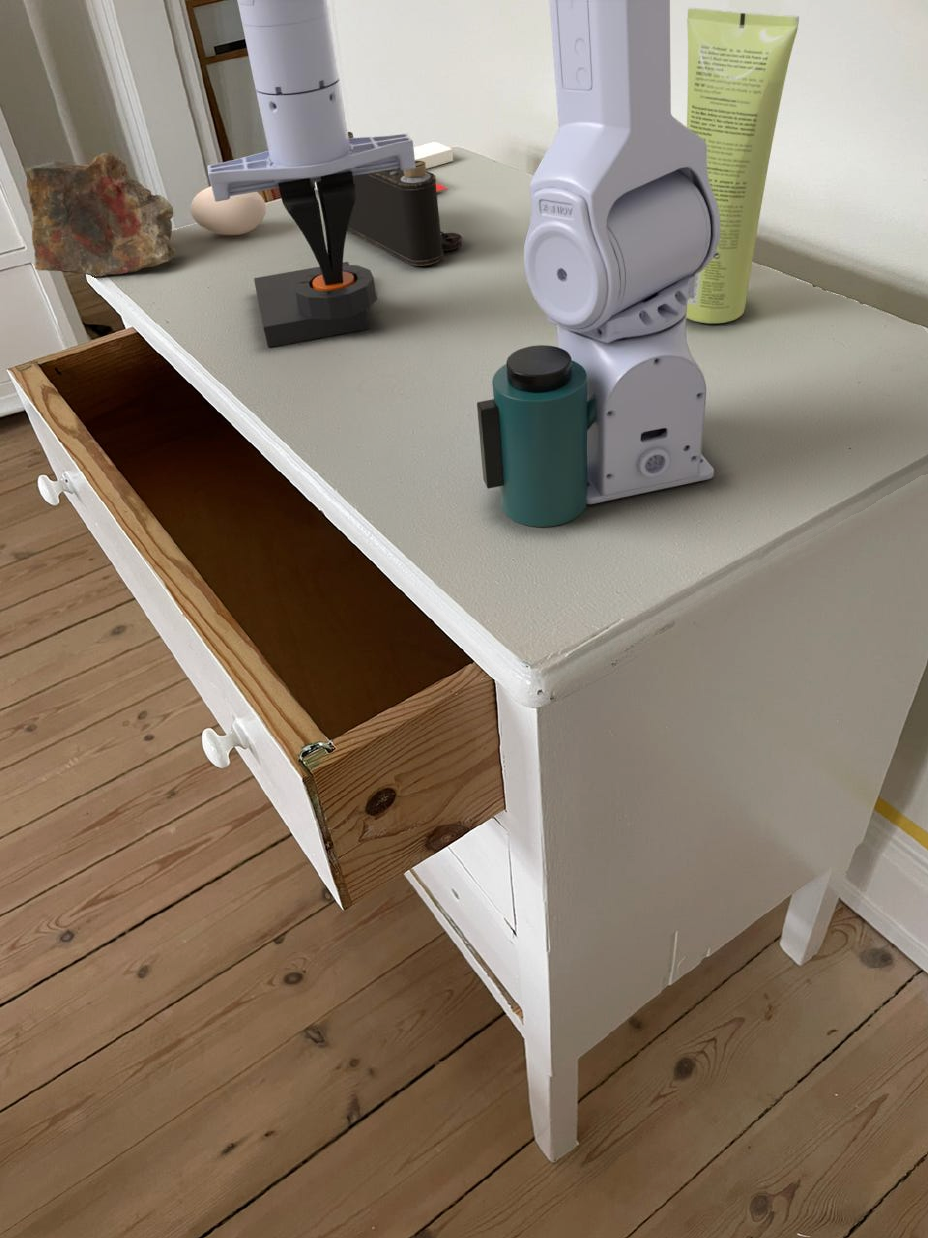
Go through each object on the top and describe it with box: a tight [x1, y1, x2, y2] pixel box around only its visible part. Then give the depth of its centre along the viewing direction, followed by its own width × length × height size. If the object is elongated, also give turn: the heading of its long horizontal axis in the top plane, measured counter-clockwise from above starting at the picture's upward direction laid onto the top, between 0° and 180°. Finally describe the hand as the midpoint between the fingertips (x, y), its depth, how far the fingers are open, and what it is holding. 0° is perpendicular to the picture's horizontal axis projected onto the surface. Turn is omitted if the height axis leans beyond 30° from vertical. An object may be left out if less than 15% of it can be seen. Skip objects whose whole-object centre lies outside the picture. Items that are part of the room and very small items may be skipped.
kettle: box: [476, 344, 597, 528], centre depth 54 cm, size 5×8×9 cm, turn 103°
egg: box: [190, 185, 267, 236], centre depth 93 cm, size 5×5×7 cm
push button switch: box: [253, 261, 378, 348], centre depth 78 cm, size 11×9×4 cm
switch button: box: [313, 271, 355, 291], centre depth 75 cm, size 3×3×2 cm
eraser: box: [413, 141, 454, 170], centre depth 105 cm, size 1×5×4 cm
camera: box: [347, 131, 464, 267], centre depth 87 cm, size 16×7×8 cm, turn 34°
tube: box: [686, 7, 800, 324], centre depth 66 cm, size 6×5×20 cm
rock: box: [26, 151, 176, 277], centre depth 89 cm, size 12×12×10 cm
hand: (332, 279), depth 75 cm, fingers closed, pressing on switch button
